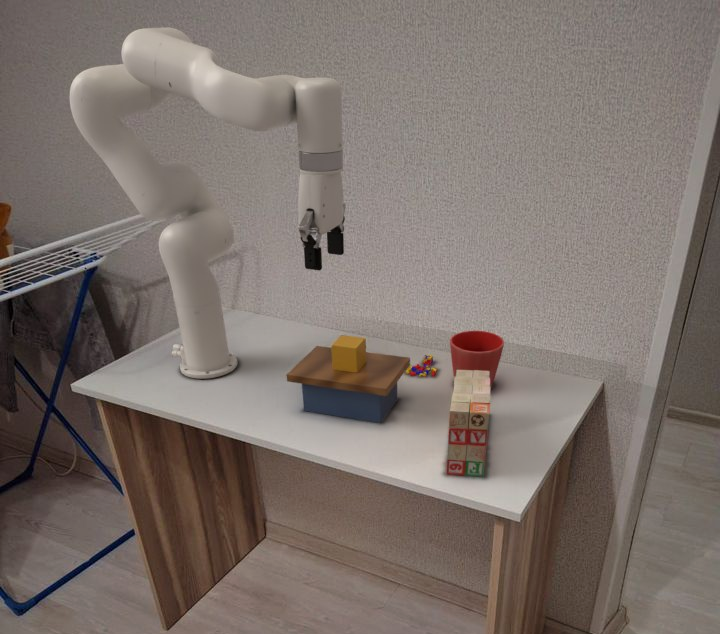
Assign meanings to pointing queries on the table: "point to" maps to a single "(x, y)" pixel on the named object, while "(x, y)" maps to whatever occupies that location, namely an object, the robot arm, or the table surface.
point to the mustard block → (349, 353)
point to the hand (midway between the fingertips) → (325, 261)
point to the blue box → (348, 402)
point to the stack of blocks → (469, 423)
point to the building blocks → (427, 361)
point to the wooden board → (369, 379)
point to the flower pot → (476, 352)
